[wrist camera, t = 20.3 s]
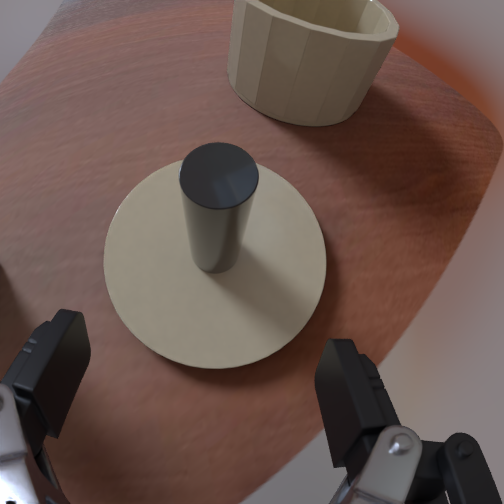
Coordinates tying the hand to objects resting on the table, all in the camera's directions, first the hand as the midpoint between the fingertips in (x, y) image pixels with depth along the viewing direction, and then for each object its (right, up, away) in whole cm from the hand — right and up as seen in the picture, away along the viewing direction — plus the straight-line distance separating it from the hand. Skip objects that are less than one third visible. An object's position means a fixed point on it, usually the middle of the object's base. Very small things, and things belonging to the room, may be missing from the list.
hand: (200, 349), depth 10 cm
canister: (+5, +18, +14) cm, 24 cm away
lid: (0, +3, +8) cm, 8 cm away
